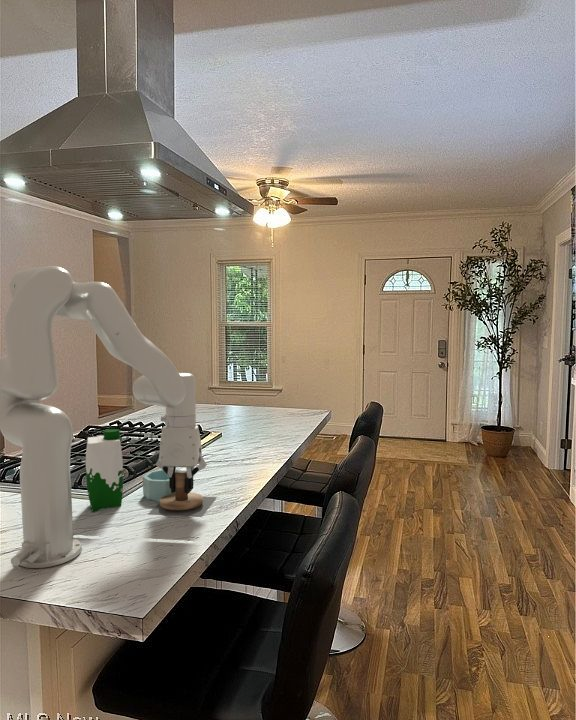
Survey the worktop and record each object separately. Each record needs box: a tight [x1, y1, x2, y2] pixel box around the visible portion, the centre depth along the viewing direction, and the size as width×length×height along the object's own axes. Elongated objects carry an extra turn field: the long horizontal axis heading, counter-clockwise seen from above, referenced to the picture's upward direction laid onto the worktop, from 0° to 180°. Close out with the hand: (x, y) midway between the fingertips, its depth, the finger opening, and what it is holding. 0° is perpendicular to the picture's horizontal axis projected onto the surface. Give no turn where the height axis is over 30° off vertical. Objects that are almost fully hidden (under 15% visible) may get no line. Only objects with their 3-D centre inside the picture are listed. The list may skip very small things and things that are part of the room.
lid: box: [159, 470, 204, 510], centre depth 138 cm, size 11×11×8 cm
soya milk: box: [85, 428, 124, 513], centre depth 140 cm, size 9×9×20 cm
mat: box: [147, 496, 218, 518], centre depth 139 cm, size 14×14×1 cm
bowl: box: [142, 468, 183, 502], centre depth 148 cm, size 11×11×6 cm
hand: (181, 491), depth 138 cm, fingers closed on lid, 3 cm apart
